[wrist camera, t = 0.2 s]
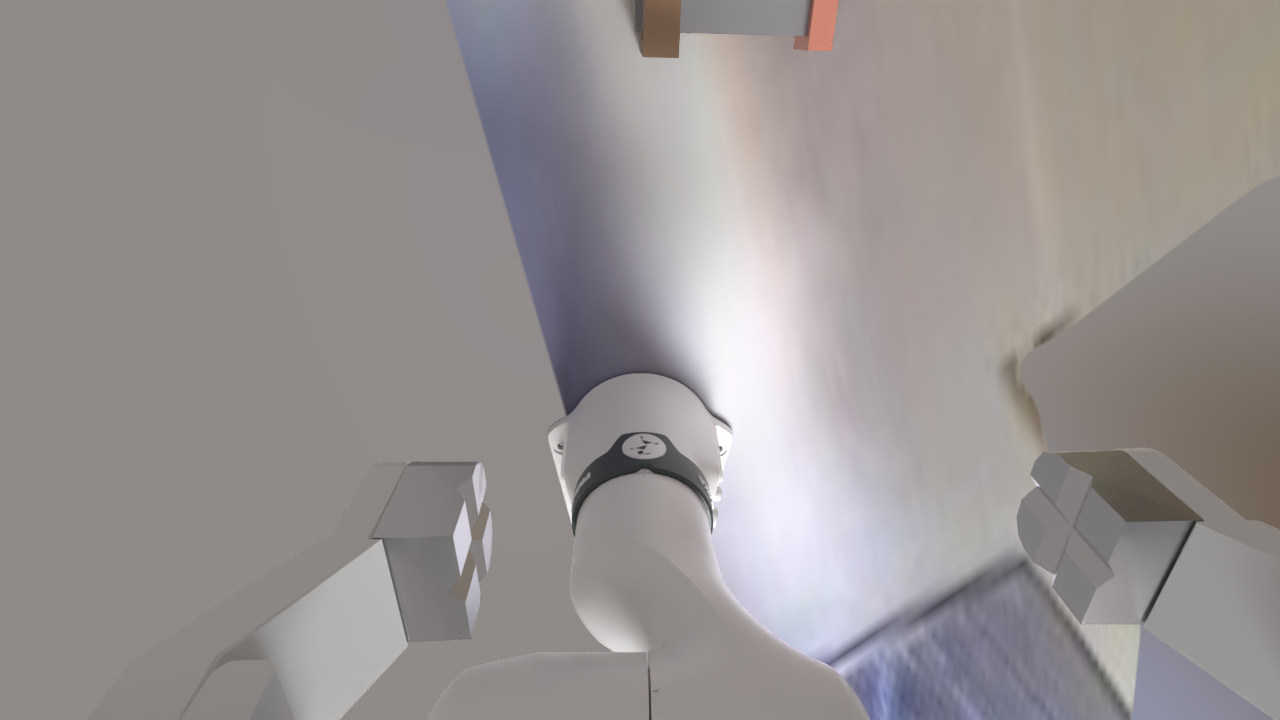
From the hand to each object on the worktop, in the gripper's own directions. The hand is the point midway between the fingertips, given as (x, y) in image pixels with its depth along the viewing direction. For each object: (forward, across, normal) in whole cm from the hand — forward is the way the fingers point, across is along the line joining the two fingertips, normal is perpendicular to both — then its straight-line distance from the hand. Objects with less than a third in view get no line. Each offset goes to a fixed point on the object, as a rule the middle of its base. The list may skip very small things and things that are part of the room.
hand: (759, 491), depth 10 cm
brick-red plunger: (+42, +5, +6) cm, 43 cm away
